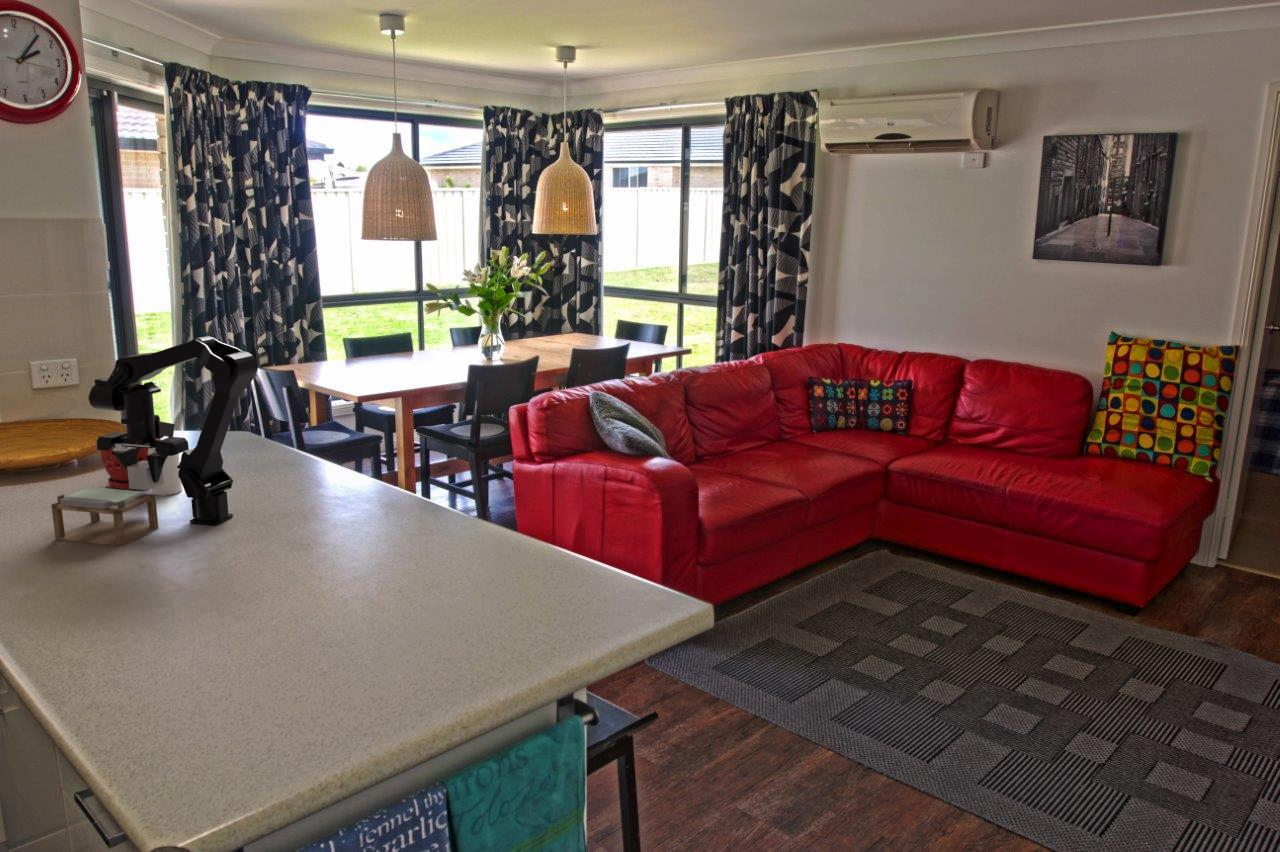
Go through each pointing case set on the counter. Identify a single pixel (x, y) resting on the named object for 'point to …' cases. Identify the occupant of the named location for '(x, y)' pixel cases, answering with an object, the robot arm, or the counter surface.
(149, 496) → the frame
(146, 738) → the counter surface
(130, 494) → the trapdoor
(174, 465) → the can
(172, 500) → the counter surface
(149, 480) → the stone
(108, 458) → the plant pot
